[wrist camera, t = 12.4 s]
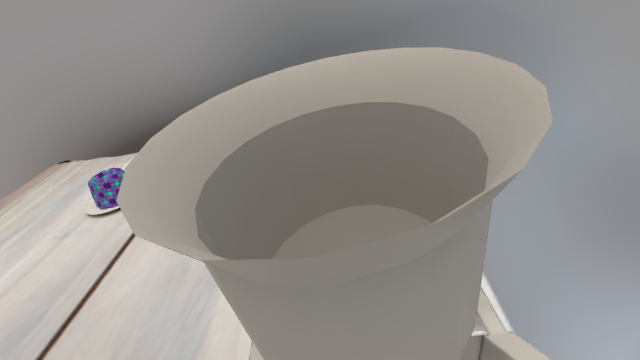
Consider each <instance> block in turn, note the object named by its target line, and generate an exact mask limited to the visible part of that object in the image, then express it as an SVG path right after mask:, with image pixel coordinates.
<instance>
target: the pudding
mask: <svg viewBox="0 0 640 360" xmlns="http://www.w3.org/2000/svg"><path fill="white" fill-rule="evenodd" d="M124 172H125V171H123V170H122V169H120V168H110V169H108V170H104V171H102V172H100V173H99V174H97V175H95V176H93V177H92V178H91V180H90V181H89V182H88V186H89V188H90V191H91V193H92V196H93V197H92V198H90V199H89V201H88V202H87V203H86V205H85V207H84V211H85V213H87V214H90V215H96V214H102V213H106V212H109V211H112V210H115V209H117V208H120V207H119V205H118V203H117V202H116V200H117V196H118V193H119V189H120V186H121V183H122V179H123V176H124Z"/></svg>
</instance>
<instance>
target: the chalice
mask: <svg viewBox="0 0 640 360" xmlns="http://www.w3.org/2000/svg"><path fill="white" fill-rule="evenodd" d="M552 122H553V120H552V116H551V110H550V105H549V100H548V95H547V90H546V87H545V86H544V85H543V84H541V83H540V82H539V81H538V80H537V79H535V78H534V77H533V76H532V75H530V74H529V73H528V72H527V71H525V70H524V69H523V68H522V67H520V66H519V65H517V64H514V63H511V62H508V61H505V60H502V59H499V58H496V57H493V56H490V55H487V54H484V53H479V52H472V51H463V50H457V49H449V48H395V49H385V50H374V51H363V52H358V53H352V54H347V55H341V56H335V57H330V58H325V59H321V60H317V61H313V62H309V63H306V64H302V65H298V66H294V67H290V68H286V69H283V70H281V71H278V72H274V73H272V74H269V75H266V76H263V77H260V78H257V79H254V80H251V81H249V82H246V83H244V84H242V85H240V86H237V87H235V88H233V89H231V90H228V91H226V92H224V93H221V94H219V95H217V96H215V97H213V98H211V99H209V100H208V101H206V102H204V103H202V104H201V105H199V106H197V107H195V108H193V109H192V110H190V111H188V112H186V113H185V114H183V115H181V116H180V117H178V118H177V119H176V120H175V121H173V122H172V123H171V124H169V125H168V126H167V127H165V128H164V129H163V130H161V131H160V132H159V133H157V134H156V135H155V136H154V137H152V138H151V139H150V140H149V141H148V142H147V144H146V145H145V146H144V147H143V148H142V149H141V151H140V152H139V153H138V154H137V155H136V156H135V157H134V159H133V160H132V161H131V162H130V163H129V164H128V166H127V167H126V169H125V172H124V176H123V179H122V183H121V186H120V189H119V193H118V196H117V200H116V202H117V203H118V205H119V207H120V209H121V211H122V212H123V214H124V216H125V218H126V220H127V222H128V223H129V225H130V227H131V229H132V231H133V232H134V234H135V236H137V237H140V238H143V239H145V240H148V241H150V242H153V243H156V244H158V245H161V246H163V247H166V248H169V249H171V250H174V251H176V252H179V253H182V254H184V255H187V256H189V257H192V258H195V259H197V260H200V261H202V262H204V263H205V265H206V267H207V268H208V270H209V272H210V273H211V275H212V276H213V278H214V280H215V281H216V283H217V285H218V286H219V288H220V289H221V291H222V293H223V294H224V296H225V298H226V299H227V301H228V302H229V304H230V306H231V307H232V309H233V311H234V312H235V314H236V315H237V317H238V319H239V320H240V322H241V324H242V325H243V327H244V329H245V330H246V332H247V333H248V335H249V337H250V338H251V340H252V342H253V343H254V345H255V346H256V348H257V350H258V351H259V353H260V354H261V356H262V357H263V358H264V360H458V359H459V357H460V355H461V353H462V352H463V350H464V348H465V346H466V344H467V342H468V340H469V338H470V336H471V334H472V332H473V330H474V329H475V322H476V315H477V308H478V301H479V294H480V287H481V280H482V273H483V265H484V258H485V251H486V243H487V237H488V230H489V222H490V216H491V208H492V201H493V199H494V198H495V197H496V196H497V195H498V194H499V193H500V192H501V191H502V190H503V189H504V188H505V187H506V186H507V185H508V184H509V182H511V180H512V179H514V178H515V176H517V175H518V173H519V172H520V171H521V170H522V169H523V168H524V166H525V165H526V163H527V161H528V160H529V158H530V157H531V155H532V154H533V152H534V150H535V149H536V147H537V146H538V144H539V143H540V141H541V140H542V138H543V136H544V135H545V133H546V132H547V130H548V128H549V127H550V125H551V124H552Z"/></svg>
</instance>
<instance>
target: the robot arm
mask: <svg viewBox="0 0 640 360" xmlns="http://www.w3.org/2000/svg"><path fill="white" fill-rule="evenodd" d="M249 360H264V358H263V357H262V356H261V354H260V353H259V351H258V350H257V348H256V346H255V345H254V343H253V342H251V349H250V355H249ZM458 360H551V359H550V358H548V357H547V356H546V355H544V354H543V353H541V352H540V351H539V350H537V349H536V348H534V347H533V346H532V345H530V344H529V343H528V342H526V341H525V340H523V339H522V338H520V337H519V336H518V335H516V334H515V333H514V332H512V331H510V332H507V331H506V329H505V327H504V326H503V324H502V322H501V320H500V319H499V317H498V315H497V313H496V312H495V310H494V308H493V306H492V305H491V303H490V301H489V300H488V298H487V296H486V294H485V293H484V291H483V289H482V288H481V287H480V294H479V301H478V308H477V315H476V322H475V329H474V330H473V332H472V334H471V336H470V338H469V340H468V342H467V344H466V346H465V348H464V350H463V352H462V353H461V355H460V357H459V359H458Z"/></svg>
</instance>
